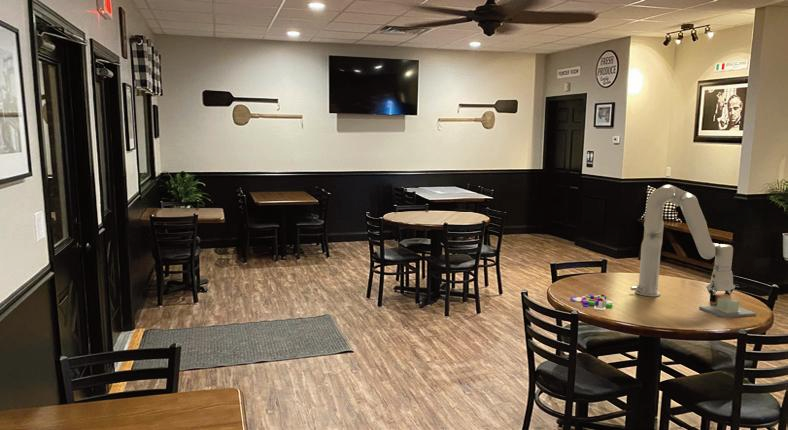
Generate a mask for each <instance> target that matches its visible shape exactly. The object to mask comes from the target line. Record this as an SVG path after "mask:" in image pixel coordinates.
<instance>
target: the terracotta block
mask: <svg viewBox="0 0 788 430" xmlns="http://www.w3.org/2000/svg"><path fill="white" fill-rule="evenodd" d="M724 293H725V292H724ZM724 293H723V292H722V291H718V292H716V294H715V295H716V300H715V303H713V302H711V301H710V300H709V303H712V304H715V305H717V301H718V298H731V299H732V294H730V295H727V294H724Z"/></svg>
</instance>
